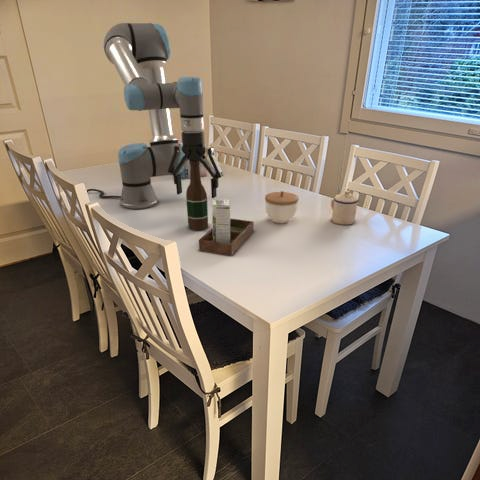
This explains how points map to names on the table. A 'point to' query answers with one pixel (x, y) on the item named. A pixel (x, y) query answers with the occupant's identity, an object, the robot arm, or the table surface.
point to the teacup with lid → (344, 208)
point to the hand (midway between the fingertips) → (196, 195)
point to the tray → (237, 237)
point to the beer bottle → (196, 200)
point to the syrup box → (221, 221)
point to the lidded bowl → (281, 206)
